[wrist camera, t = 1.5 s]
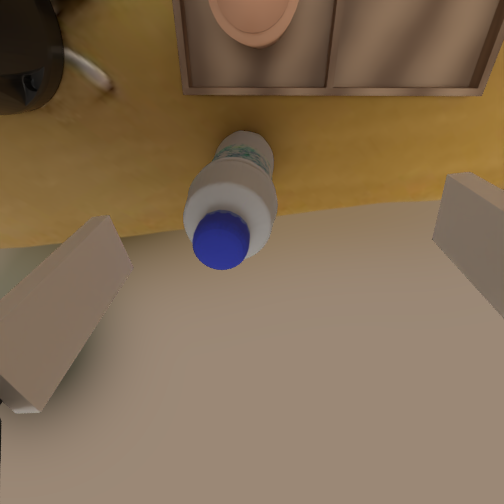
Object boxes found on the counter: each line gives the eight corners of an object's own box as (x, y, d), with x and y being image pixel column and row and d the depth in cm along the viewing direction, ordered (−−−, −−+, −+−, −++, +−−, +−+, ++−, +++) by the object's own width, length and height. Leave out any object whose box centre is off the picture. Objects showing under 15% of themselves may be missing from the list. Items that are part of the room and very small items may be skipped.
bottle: (225, 189, 35) (184, 304, 18) (209, 132, 32) (139, 210, 15) (280, 179, 34) (288, 290, 17) (269, 118, 30) (266, 185, 14)
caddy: (189, 92, 30) (183, 94, 27) (168, -102, 22) (158, -119, 20) (466, 93, 28) (481, 96, 26) (540, -113, 21) (569, -132, 19)
